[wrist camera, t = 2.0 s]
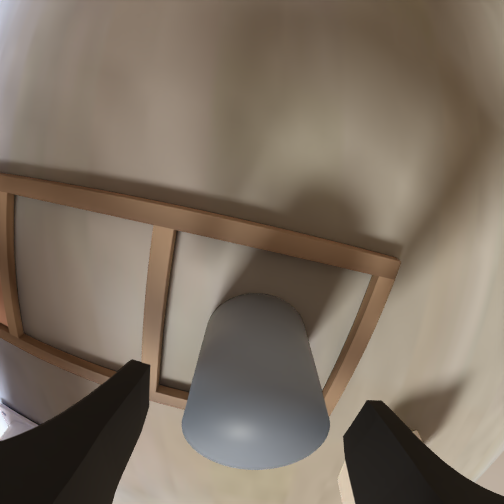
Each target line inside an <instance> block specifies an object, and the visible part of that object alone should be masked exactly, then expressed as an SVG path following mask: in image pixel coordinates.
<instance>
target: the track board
mask: <svg viewBox="0 0 504 504" xmlns="http://www.w3.org/2000/svg"><path fill="white" fill-rule="evenodd" d="M14 194H15V195H19V196H24V197H29V198H33V199H38V200H42V201H47V202H52V203H56V204H61V205H65V206H70V207H75V208H79V209H84V210H88V211H93V212H97V213H102V214H107V215H111V216H116V217H120V218H125V219H129V220H134V221H138V222H143V223H147V224H152V225H154V226H153V233H152V241H151V248H150V256H149V265H148V274H147V284H146V295H145V307H144V320H143V337H142V361H141V362H142V363H146V364H149V365H150V390H149V400H150V401H153V402H157V403H160V404H164V405H168V406H172V407H176V408H180V409H184V410H185V407H186V403H187V400H188V396H189V392H185V391H181V390H177V389H173V388H170V387H166V386H162V385H159V375H160V362H161V350H162V339H163V329H164V320H165V311H166V302H167V294H168V286H169V279H170V272H171V265H172V258H173V251H174V245H175V239H176V233H177V230H179V231H183V232H188V233H192V234H196V235H201V236H205V237H210V238H214V239H219V240H223V241H228V242H232V243H236V244H241V245H245V246H250V247H254V248H258V249H263V250H267V251H272V252H276V253H280V254H285V255H289V256H294V257H298V258H302V259H307V260H311V261H315V262H320V263H324V264H328V265H333V266H337V267H341V268H346V269H350V270H354V271H359V272H363V273H367V274H372V277H371V280H370V283H369V286H368V288H367V291H366V294H365V296H364V299H363V301H362V304H361V306H360V309H359V311H358V314H357V316H356V319H355V321H354V324H353V326H352V328H351V331H350V333H349V335H348V338H347V340H346V342H345V344H344V347H343V349H342V351H341V353H340V356H339V358H338V360H337V362H336V364H335V366H334V368H333V371H332V373H331V375H330V377H329V379H328V381H327V383H326V385H325V387H324V389H323V391H322V393H323V396H324V400H325V404H326V408H327V412H328V416H330V414H331V413H332V411H333V409H334V407H335V406H336V404H337V402H338V400H339V399H340V397H341V395H342V393H343V391H344V390H345V388H346V386H347V384H348V382H349V380H350V378H351V377H352V375H353V373H354V371H355V369H356V367H357V365H358V363H359V361H360V359H361V357H362V355H363V353H364V351H365V349H366V346H367V344H368V342H369V340H370V338H371V336H372V334H373V331H374V329H375V327H376V325H377V322H378V320H379V318H380V315H381V313H382V311H383V308H384V306H385V303H386V301H387V299H388V296H389V294H390V291H391V288H392V286H393V283H394V281H395V278H396V275H397V273H398V270H399V267H400V264H401V261H399V260H398V259H397V258H396V257H392V256H388V255H385V254H381V253H377V252H373V251H369V250H366V249H362V248H358V247H354V246H350V245H346V244H342V243H338V242H334V241H330V240H326V239H322V238H318V237H314V236H310V235H306V234H302V233H298V232H294V231H290V230H286V229H281V228H277V227H273V226H269V225H264V224H260V223H256V222H251V221H247V220H243V219H238V218H234V217H229V216H225V215H220V214H216V213H211V212H207V211H202V210H198V209H193V208H188V207H184V206H179V205H174V204H169V203H164V202H160V201H155V200H150V199H145V198H140V197H135V196H130V195H125V194H120V193H114V192H109V191H104V190H99V189H93V188H88V187H82V186H77V185H71V184H66V183H60V182H54V181H48V180H43V179H37V178H31V177H25V176H18V175H12V174H6V173H0V338H2V339H4V340H5V341H7V342H9V343H11V344H13V345H15V346H16V347H18V348H20V349H22V350H24V351H26V352H28V353H30V354H32V355H34V356H36V357H38V358H40V359H42V360H44V361H46V362H48V363H50V364H53V365H55V366H57V367H59V368H62V369H64V370H66V371H68V372H71V373H73V374H76V375H78V376H80V377H83V378H85V379H88V380H91V381H93V382H96V383H98V384H101V385H102V384H103V383H104V382H105V381H107V380H108V379H109V378H110V377H112V376H113V375H114V374H115V373H116V371H113V370H110V369H107V368H105V367H102V366H99V365H96V364H94V363H91V362H88V361H86V360H83V359H80V358H78V357H75V356H73V355H70V354H68V353H66V352H63V351H61V350H59V349H56V348H54V347H52V346H49V345H47V344H45V343H43V342H41V341H38V340H36V339H34V338H32V337H30V336H28V335H26V334H24V332H23V327H22V321H21V315H20V308H19V301H18V293H17V284H16V273H15V259H14Z"/></svg>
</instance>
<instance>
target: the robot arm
mask: <svg viewBox="0 0 504 504" xmlns="http://www.w3.org/2000/svg"><path fill="white" fill-rule="evenodd" d="M149 390H150V365H149V364H146V363H142V362H139V361H136V360H133V359H132V360H130V361H129V362H128V363H126V364H125V365H124V366H123V367H122V368H121V369H120V370H119V371H117V372H116V373H115V374H114V375H113V376H112V377H110V378H109V379H108V380H107V381H105V382H104V383H103V384H102V385H100V386H99V387H98V388H97V389H95V390H94V391H93V392H91V393H90V394H89V395H87V396H86V397H85V398H83V399H82V400H80V401H79V402H77V403H76V404H74V405H73V406H71V407H70V408H68V409H67V410H65V411H64V412H62V413H61V414H59V415H57V416H56V417H54V418H52V419H50V420H48V421H46V422H45V423H43V424H41V425H37V424H35V423H34V422H32V421H30V420H28V419H27V418H25V417H23V416H21V415H20V414H18V413H16V412H15V411H13V410H12V409H10V408H8V407H7V406H5V405H4V404H2V403H1V404H0V411H1V413H2V415H3V417H4V419H5V421H6V423H7V425H8V428H7V430H6V431H5V432H4V434H3V435H2V437H1V438H0V504H112V502H113V498H114V495H115V492H116V489H117V486H118V484H119V481H120V479H121V476H122V474H123V472H124V470H125V467H126V465H127V463H128V461H129V458H130V456H131V454H132V452H133V450H134V447H135V445H136V443H137V441H138V438H139V436H140V434H141V431H142V428H143V425H144V422H145V418H146V415H147V412H148V409H149ZM343 440H344V453H345V461H346V466H347V470H348V475H349V479H350V483H351V488H352V492H353V496H354V501H355V504H504V496H501V495H499V494H496V493H494V492H492V491H490V490H487V489H485V488H483V487H481V486H480V485H478V484H476V483H474V482H472V481H471V480H469V479H467V478H466V477H464V476H463V475H461V474H460V473H458V472H457V471H456V470H454V469H453V468H452V467H450V466H449V465H448V464H446V463H445V462H444V461H443V460H441V459H440V458H439V457H438V456H437V455H436V454H435V453H434V452H432V451H431V450H430V449H429V448H428V447H427V446H426V445H425V444H424V443H423V442H422V441H421V440H420V439H419V438H418V437H417V436H416V435H415V434H414V433H413V432H412V431H411V430H410V429H409V428H408V427H407V426H406V425H405V424H404V423H403V422H402V421H401V420H400V419H399V417H398V416H397V415H396V414H395V413H394V412H393V411H392V410H391V409H390V408H389V407H388V406H387V405H386V404H385V403H383V402H382V401H374V400H367V401H366V403H365V404H364V406H363V407H362V409H361V411H360V412H359V414H358V415H357V417H356V418H355V420H354V421H353V423H352V424H351V426H350V427H349V429H348V430H347V432H346V433H345V434H344V436H343Z"/></svg>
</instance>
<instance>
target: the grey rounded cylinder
mask: <svg viewBox="0 0 504 504" xmlns="http://www.w3.org/2000/svg"><path fill="white" fill-rule="evenodd" d="M329 428H330V421H329V416H328V412H327V408H326V404H325V400H324V396H323V393H322V389H321V385H320V381H319V377H318V374H317V370H316V366H315V363H314V359H313V355H312V352H311V348H310V344H309V341H308V337H307V334H306V330H305V326H304V323H303V320H302V319H301V317H300V315H299V314H298V312H297V311H296V310H295V309H294V308H293V307H292V306H291V305H290V304H288V303H287V302H285V301H284V300H282V299H280V298H277V297H275V296H271V295H267V294H258V293H253V294H245V295H240V296H237V297H234V298H232V299H230V300H228V301H226V302H224V303H223V304H222V305H220V306H219V307H218V308H217V309H216V310H215V311H214V313H213V314H212V316H211V317H210V319H209V321H208V324H207V328H206V332H205V335H204V339H203V343H202V346H201V350H200V354H199V358H198V361H197V365H196V369H195V373H194V376H193V380H192V384H191V388H190V392H189V396H188V400H187V403H186V407H185V411H184V415H183V419H182V431H183V434H184V436H185V439H186V440H187V442H188V443H189V444H190V445H191V447H192V448H193V449H194V450H196V451H197V452H198V453H199V454H201V455H202V456H204V457H206V458H207V459H209V460H211V461H214V462H216V463H219V464H222V465H225V466H229V467H233V468H239V469H248V470H262V469H272V468H278V467H282V466H286V465H289V464H292V463H295V462H297V461H299V460H302V459H304V458H305V457H307V456H309V455H310V454H312V453H313V452H314V451H316V450H317V449H318V448H319V447H320V446H321V445H322V443H323V442H324V441H325V439H326V437H327V435H328V432H329Z"/></svg>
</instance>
